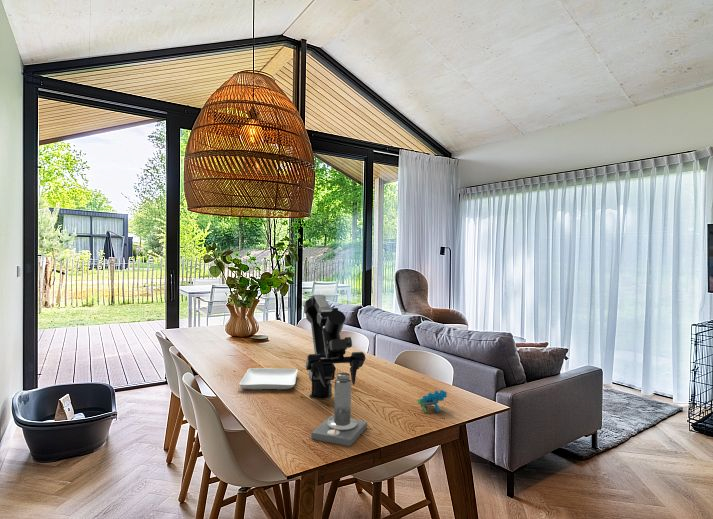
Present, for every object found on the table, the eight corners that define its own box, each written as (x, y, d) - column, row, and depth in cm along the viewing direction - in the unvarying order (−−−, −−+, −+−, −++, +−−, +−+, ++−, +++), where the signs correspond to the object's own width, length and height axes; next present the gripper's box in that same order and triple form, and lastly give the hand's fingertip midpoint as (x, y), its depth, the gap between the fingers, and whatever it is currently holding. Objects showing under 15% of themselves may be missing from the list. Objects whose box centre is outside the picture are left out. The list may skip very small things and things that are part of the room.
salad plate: (294, 392, 164) (295, 383, 164) (238, 392, 163) (238, 383, 163) (298, 376, 186) (298, 368, 185) (248, 376, 184) (248, 368, 184)
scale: (311, 438, 125) (311, 430, 125) (331, 420, 138) (331, 413, 138) (350, 446, 120) (350, 438, 120) (366, 427, 134) (367, 420, 134)
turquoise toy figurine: (441, 399, 156) (448, 386, 149) (448, 414, 152) (455, 402, 145) (413, 405, 153) (419, 392, 146) (419, 421, 149) (425, 409, 142)
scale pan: (322, 427, 128) (322, 425, 128) (334, 416, 136) (334, 414, 136) (350, 432, 125) (350, 430, 125) (361, 421, 133) (361, 419, 133)
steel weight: (330, 421, 131) (331, 374, 130) (343, 417, 134) (344, 371, 134) (341, 427, 127) (342, 378, 127) (353, 422, 130) (354, 375, 130)
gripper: (308, 329, 136) (313, 374, 126) (364, 327, 141) (374, 370, 131) (303, 347, 144) (308, 391, 134) (357, 345, 149) (365, 387, 139)
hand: (339, 385), depth 134 cm, fingers open, 9 cm apart
